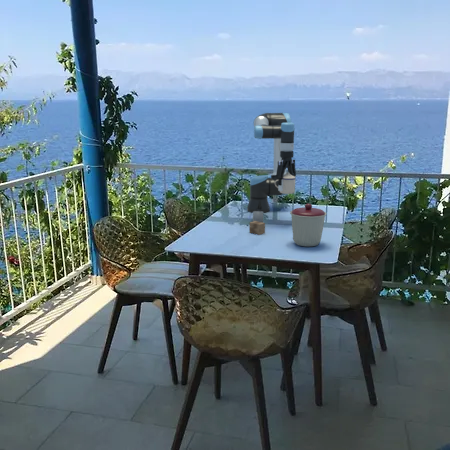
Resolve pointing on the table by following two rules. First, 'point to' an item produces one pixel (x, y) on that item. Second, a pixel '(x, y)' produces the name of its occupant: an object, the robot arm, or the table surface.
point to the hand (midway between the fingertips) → (285, 189)
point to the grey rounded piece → (258, 216)
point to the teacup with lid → (288, 184)
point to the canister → (307, 225)
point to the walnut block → (257, 227)
